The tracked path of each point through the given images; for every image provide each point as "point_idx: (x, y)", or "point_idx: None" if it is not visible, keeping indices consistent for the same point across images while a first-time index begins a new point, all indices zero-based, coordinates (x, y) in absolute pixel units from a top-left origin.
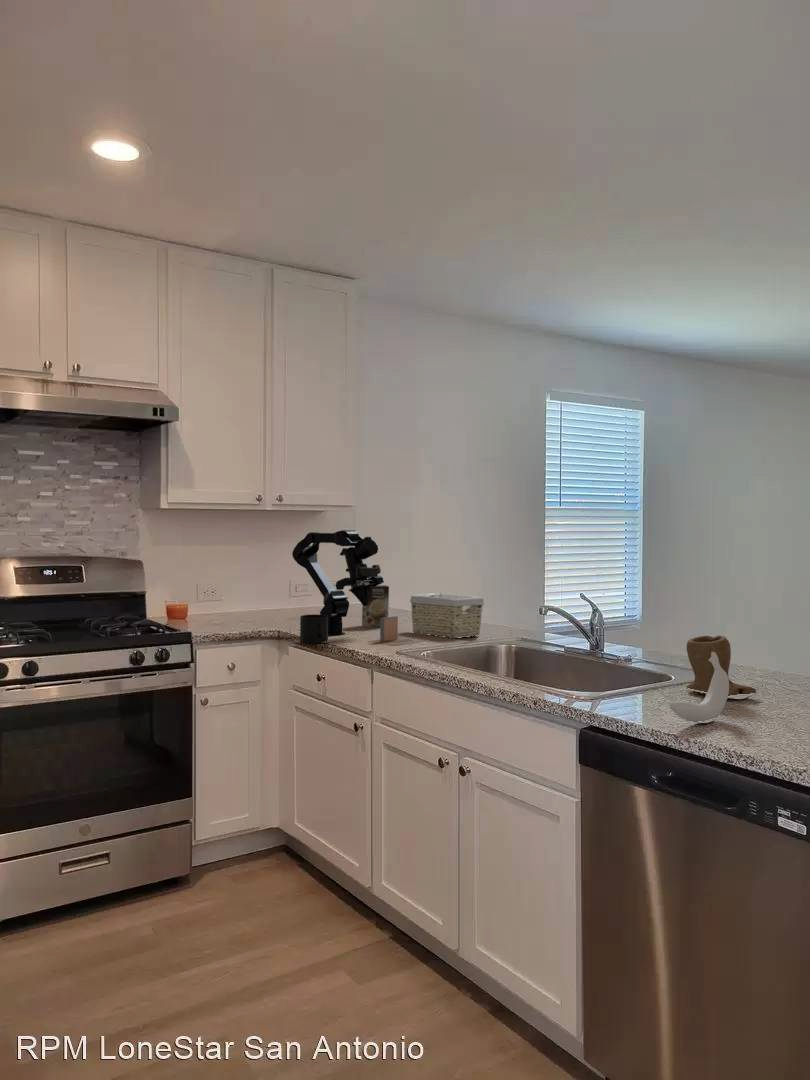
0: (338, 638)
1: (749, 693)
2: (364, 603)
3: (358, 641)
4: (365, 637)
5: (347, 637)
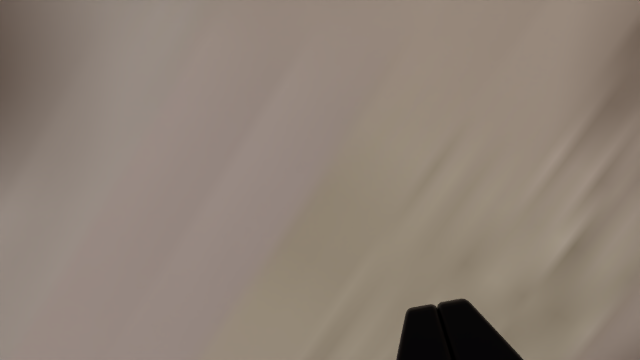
0: (577, 319)
1: None
2: (497, 350)
3: (533, 47)
4: (306, 247)
5: None
